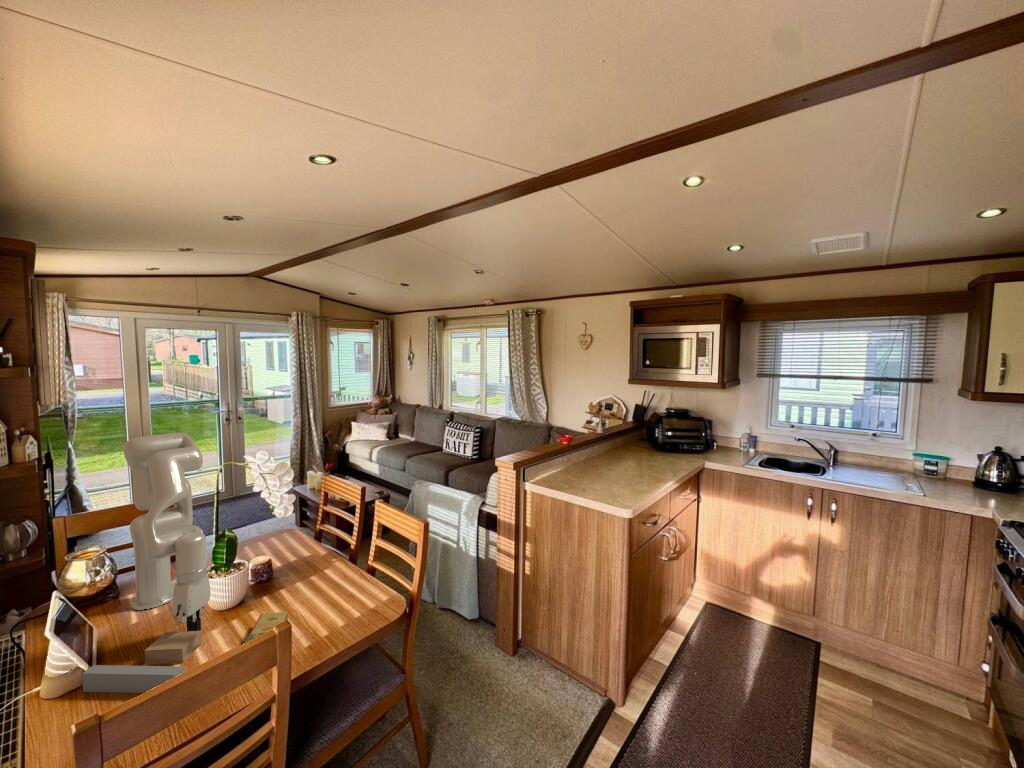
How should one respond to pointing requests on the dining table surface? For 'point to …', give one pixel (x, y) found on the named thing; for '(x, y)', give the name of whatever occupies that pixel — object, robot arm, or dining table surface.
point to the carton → (267, 623)
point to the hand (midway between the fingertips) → (194, 631)
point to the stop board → (127, 678)
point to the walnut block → (173, 647)
